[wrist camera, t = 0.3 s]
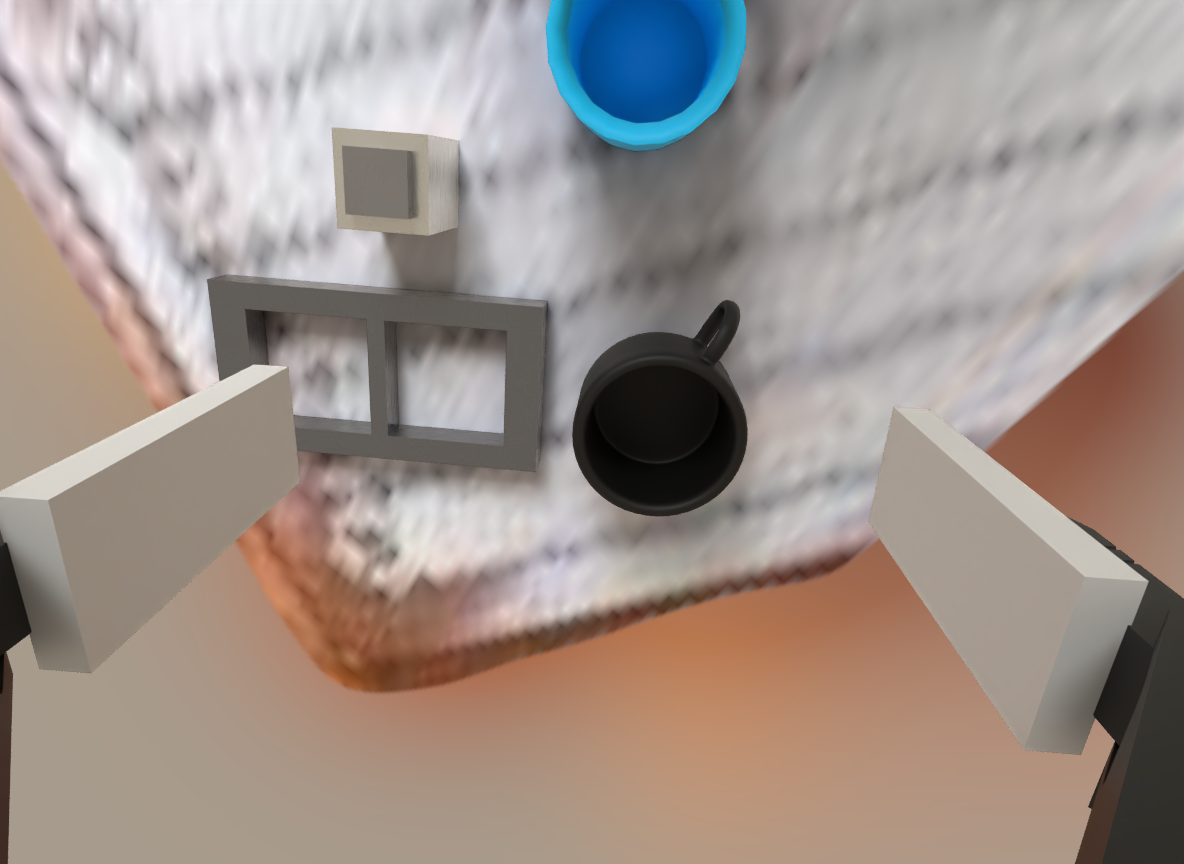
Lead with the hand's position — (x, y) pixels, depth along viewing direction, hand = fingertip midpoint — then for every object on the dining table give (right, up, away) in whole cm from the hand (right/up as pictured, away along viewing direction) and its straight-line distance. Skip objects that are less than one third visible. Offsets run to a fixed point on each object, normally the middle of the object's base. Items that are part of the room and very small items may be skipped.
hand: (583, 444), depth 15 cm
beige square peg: (-9, +14, +23) cm, 29 cm away
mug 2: (+5, +4, +26) cm, 27 cm away
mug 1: (+4, +21, +20) cm, 29 cm away
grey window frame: (-12, +4, +27) cm, 30 cm away
